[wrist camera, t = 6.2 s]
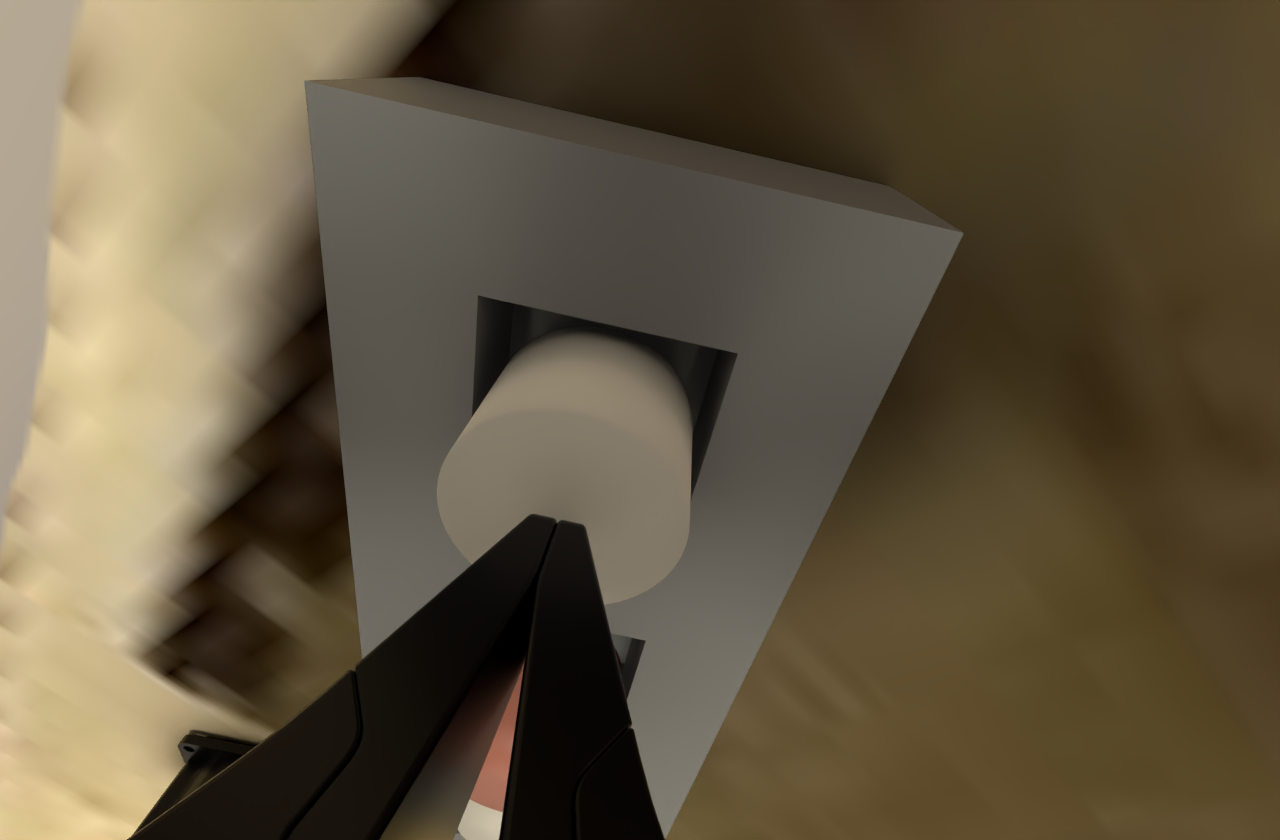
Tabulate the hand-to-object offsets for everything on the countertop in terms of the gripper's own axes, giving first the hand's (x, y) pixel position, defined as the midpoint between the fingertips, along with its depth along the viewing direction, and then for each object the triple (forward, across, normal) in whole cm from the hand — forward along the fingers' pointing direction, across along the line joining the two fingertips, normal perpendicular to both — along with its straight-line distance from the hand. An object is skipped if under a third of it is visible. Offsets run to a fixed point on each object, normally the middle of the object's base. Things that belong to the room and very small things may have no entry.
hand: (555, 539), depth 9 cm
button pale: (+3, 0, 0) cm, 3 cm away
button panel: (+7, 0, +8) cm, 10 cm away
